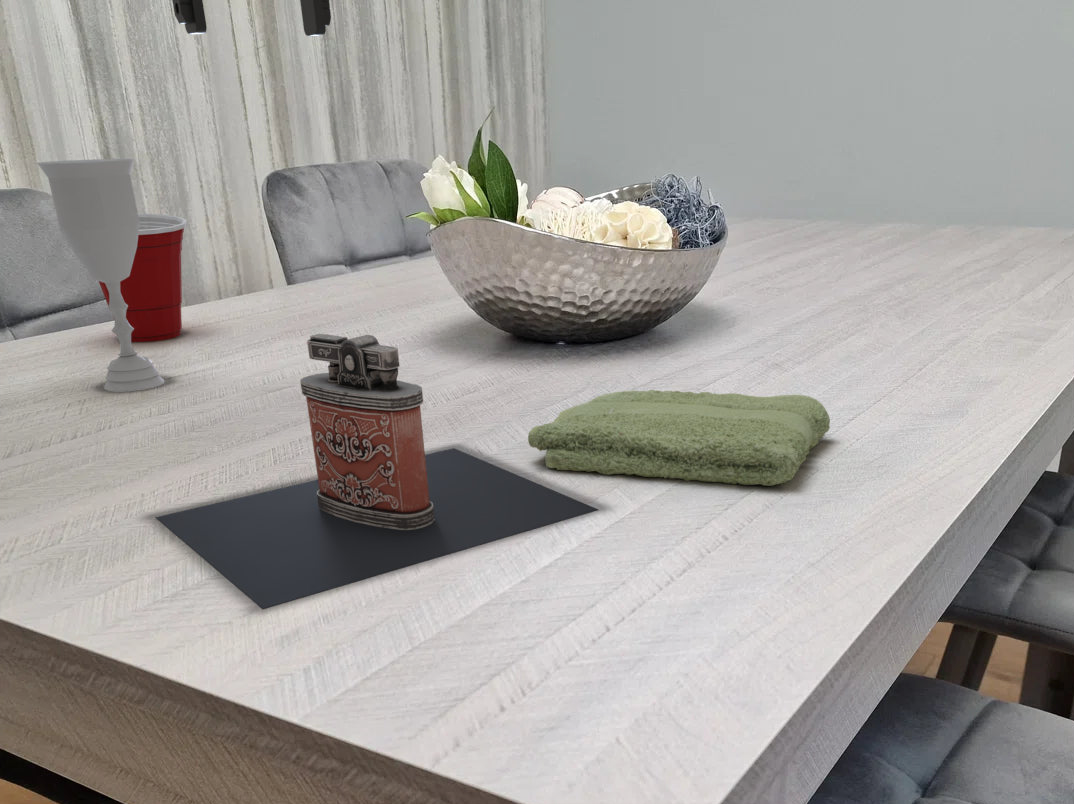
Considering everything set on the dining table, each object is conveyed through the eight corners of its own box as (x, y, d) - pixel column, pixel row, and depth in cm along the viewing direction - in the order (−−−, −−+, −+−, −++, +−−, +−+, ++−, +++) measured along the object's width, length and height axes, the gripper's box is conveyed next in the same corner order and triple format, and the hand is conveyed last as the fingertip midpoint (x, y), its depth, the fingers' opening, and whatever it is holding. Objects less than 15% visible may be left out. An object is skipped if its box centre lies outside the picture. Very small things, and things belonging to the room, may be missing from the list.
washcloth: (595, 418, 78) (594, 375, 76) (833, 438, 72) (836, 392, 70) (519, 471, 67) (517, 422, 66) (792, 500, 61) (795, 447, 59)
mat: (263, 612, 49) (262, 608, 49) (155, 520, 60) (155, 517, 60) (598, 512, 60) (598, 509, 60) (454, 450, 71) (454, 447, 71)
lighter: (448, 516, 59) (432, 338, 55) (406, 535, 57) (386, 350, 52) (347, 492, 63) (325, 325, 59) (304, 508, 61) (278, 335, 56)
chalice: (133, 374, 94) (87, 159, 87) (195, 378, 92) (153, 158, 84) (71, 394, 88) (16, 163, 80) (136, 399, 86) (85, 163, 78)
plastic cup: (126, 353, 103) (98, 225, 97) (80, 340, 109) (51, 219, 104) (226, 336, 110) (206, 215, 105) (177, 324, 116) (155, 210, 111)
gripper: (298, -226, 72) (329, 39, 79) (80, -263, 64) (136, 36, 71) (346, -255, 67) (375, 33, 74) (114, -298, 59) (171, 28, 66)
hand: (257, 34), depth 72 cm, fingers open, 8 cm apart
